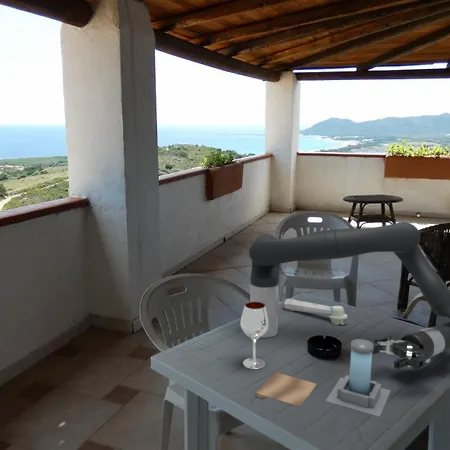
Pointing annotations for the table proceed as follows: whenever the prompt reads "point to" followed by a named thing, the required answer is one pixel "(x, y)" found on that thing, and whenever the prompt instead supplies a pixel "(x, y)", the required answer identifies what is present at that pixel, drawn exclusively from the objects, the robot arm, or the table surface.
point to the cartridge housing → (359, 397)
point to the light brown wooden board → (286, 389)
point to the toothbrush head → (317, 310)
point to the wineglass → (254, 329)
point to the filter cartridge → (360, 366)
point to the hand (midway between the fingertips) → (381, 357)
